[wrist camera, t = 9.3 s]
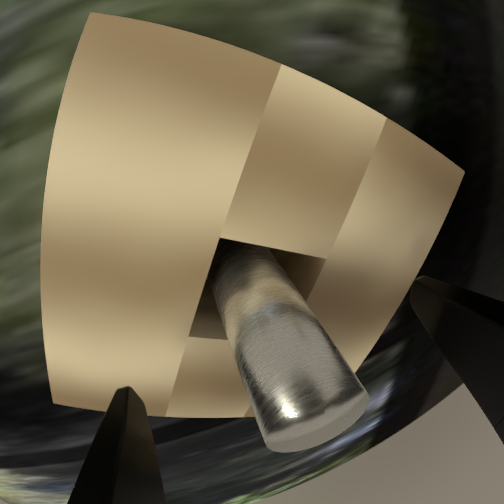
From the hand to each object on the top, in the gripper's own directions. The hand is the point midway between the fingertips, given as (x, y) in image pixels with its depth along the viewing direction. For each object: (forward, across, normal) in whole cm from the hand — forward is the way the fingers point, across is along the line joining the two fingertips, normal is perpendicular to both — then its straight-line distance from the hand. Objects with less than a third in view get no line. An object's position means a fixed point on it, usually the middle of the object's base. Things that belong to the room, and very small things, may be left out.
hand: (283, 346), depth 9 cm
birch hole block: (+6, 0, 0) cm, 6 cm away
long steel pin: (+6, 0, 0) cm, 6 cm away
